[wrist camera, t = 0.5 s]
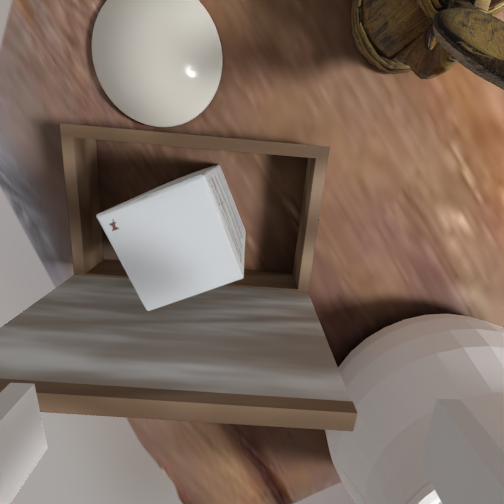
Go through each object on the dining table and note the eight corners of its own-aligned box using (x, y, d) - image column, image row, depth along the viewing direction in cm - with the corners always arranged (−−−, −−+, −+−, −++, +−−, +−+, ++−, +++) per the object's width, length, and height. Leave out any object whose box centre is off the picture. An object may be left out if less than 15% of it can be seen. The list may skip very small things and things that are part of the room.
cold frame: (84, 126, 30) (-171, 93, 12) (319, 146, 30) (419, 145, 12) (94, 269, 34) (-80, 404, 16) (300, 284, 35) (353, 431, 17)
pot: (498, 251, 34) (739, 352, 17) (560, 410, 40) (777, 594, 23) (266, 369, 38) (278, 539, 22) (355, 494, 45) (417, 699, 28)
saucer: (91, -23, 26) (86, -29, 25) (226, -10, 26) (225, -15, 26) (100, 122, 29) (96, 121, 29) (219, 132, 30) (218, 132, 29)
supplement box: (181, 255, 34) (143, 315, 22) (151, 187, 31) (89, 212, 19) (248, 232, 33) (246, 281, 21) (221, 161, 31) (202, 170, 19)
